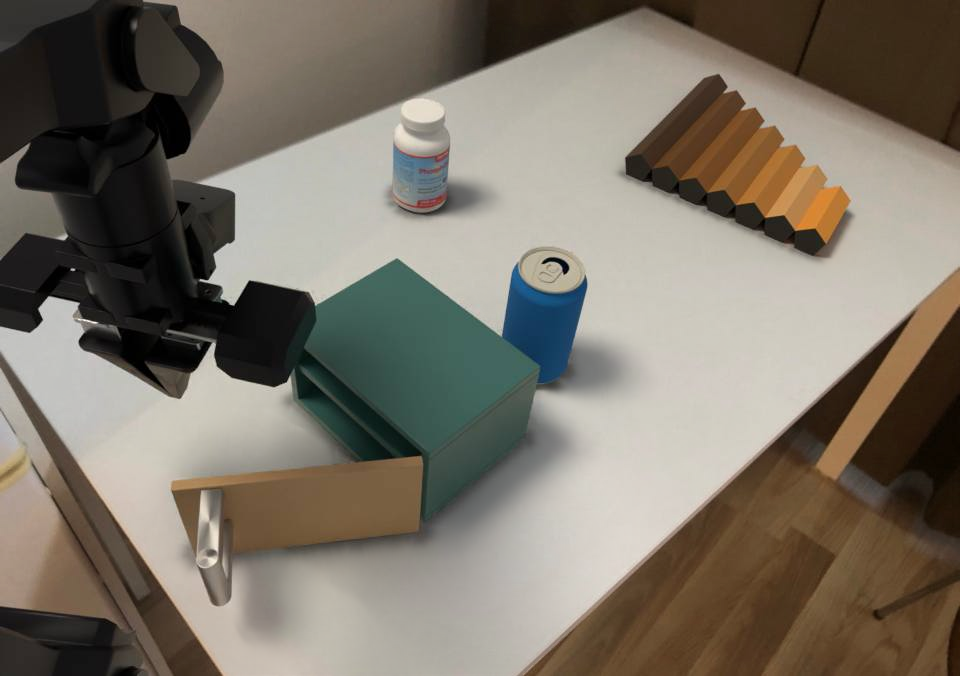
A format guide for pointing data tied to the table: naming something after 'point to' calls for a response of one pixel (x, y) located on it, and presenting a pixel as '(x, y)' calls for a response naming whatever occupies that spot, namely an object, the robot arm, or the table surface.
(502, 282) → the table surface
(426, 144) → the pill bottle
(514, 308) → the beverage can
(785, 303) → the table surface
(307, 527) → the wooden cabinet door
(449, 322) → the green cabinet
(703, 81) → the pan flute
